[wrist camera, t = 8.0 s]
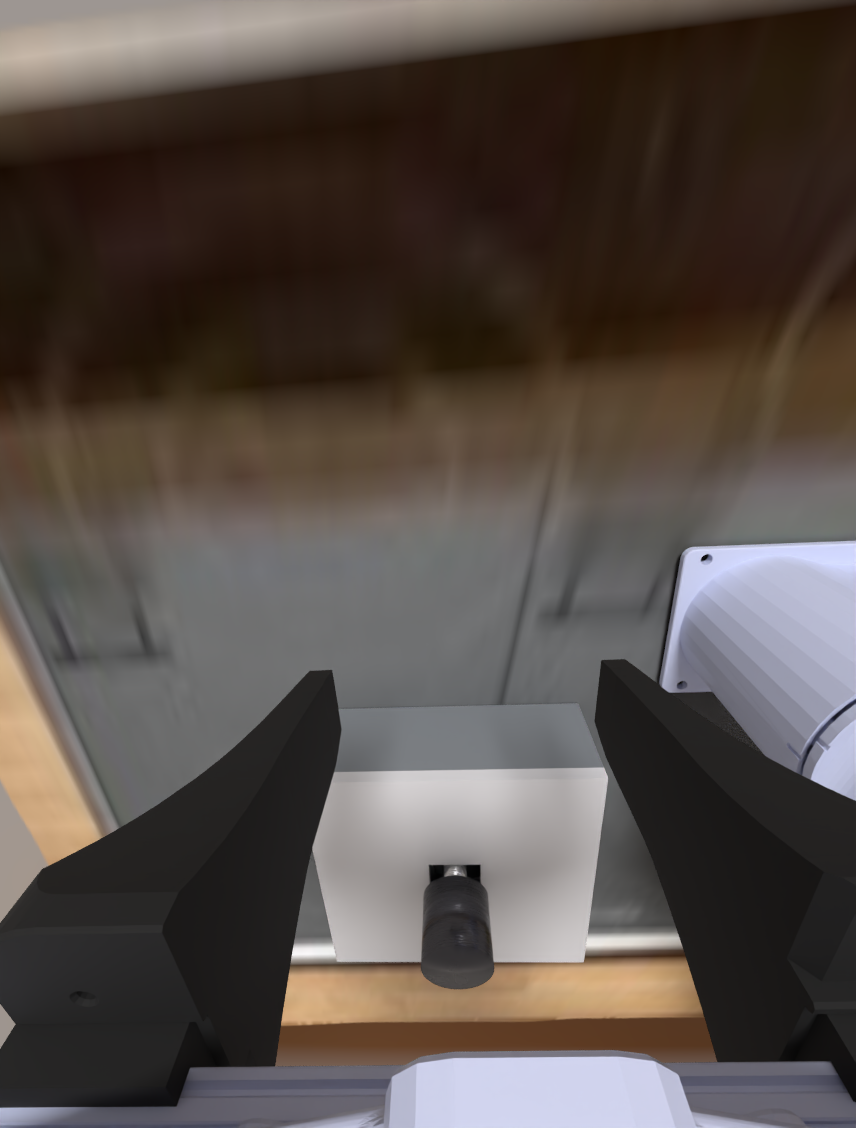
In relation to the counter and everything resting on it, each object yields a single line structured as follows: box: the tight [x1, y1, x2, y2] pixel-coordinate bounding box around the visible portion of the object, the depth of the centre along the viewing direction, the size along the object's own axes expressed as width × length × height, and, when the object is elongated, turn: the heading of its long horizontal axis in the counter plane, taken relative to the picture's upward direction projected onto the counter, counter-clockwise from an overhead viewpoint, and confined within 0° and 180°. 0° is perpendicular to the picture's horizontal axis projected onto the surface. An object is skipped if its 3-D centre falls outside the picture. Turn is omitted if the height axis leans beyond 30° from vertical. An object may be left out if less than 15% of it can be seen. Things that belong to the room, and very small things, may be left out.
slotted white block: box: [312, 703, 608, 962], centre depth 26 cm, size 14×14×5 cm
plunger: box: [421, 865, 494, 989], centre depth 24 cm, size 11×11×8 cm
